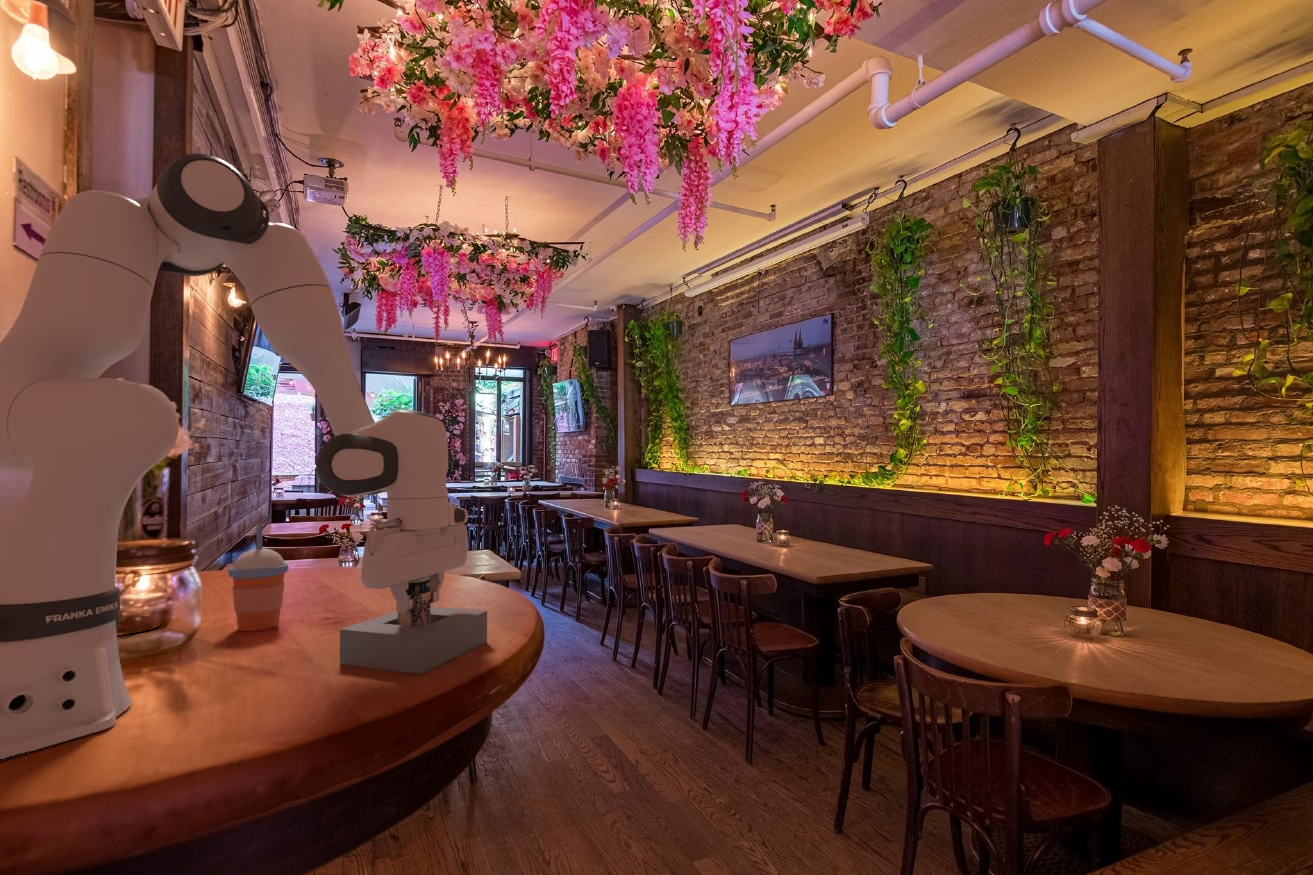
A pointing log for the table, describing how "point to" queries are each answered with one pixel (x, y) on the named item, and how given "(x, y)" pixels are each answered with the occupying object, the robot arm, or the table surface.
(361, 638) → the holder block
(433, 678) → the table surface
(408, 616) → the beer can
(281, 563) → the cup with straw
